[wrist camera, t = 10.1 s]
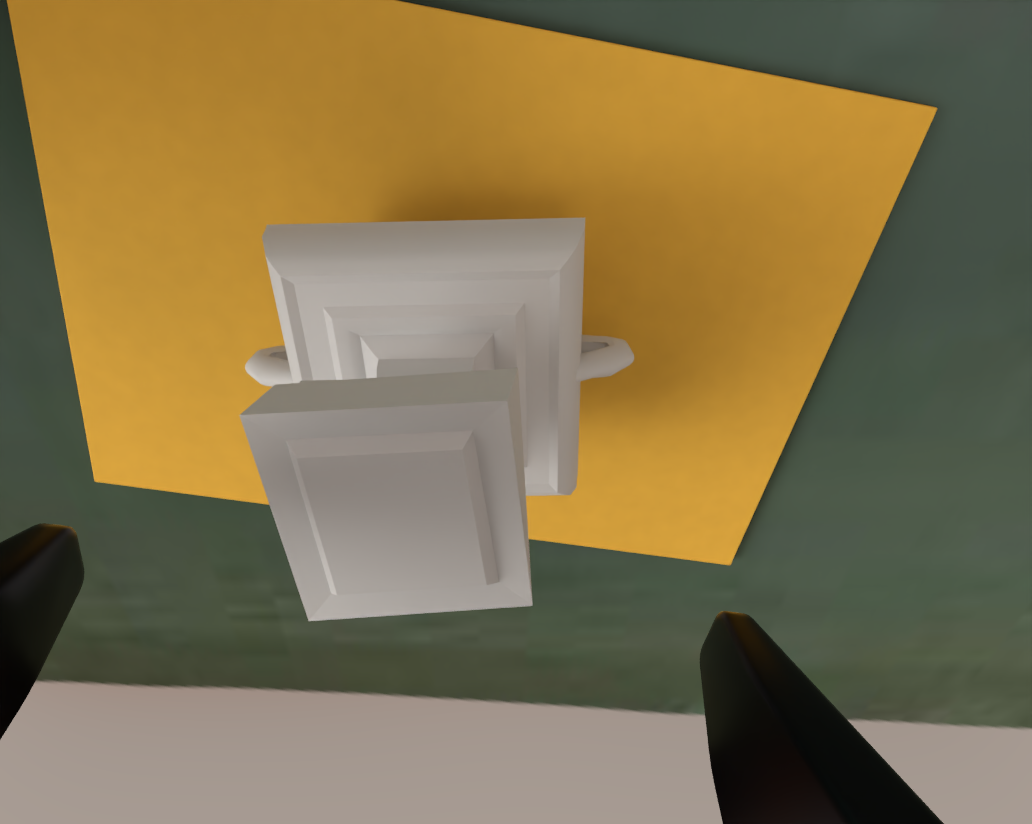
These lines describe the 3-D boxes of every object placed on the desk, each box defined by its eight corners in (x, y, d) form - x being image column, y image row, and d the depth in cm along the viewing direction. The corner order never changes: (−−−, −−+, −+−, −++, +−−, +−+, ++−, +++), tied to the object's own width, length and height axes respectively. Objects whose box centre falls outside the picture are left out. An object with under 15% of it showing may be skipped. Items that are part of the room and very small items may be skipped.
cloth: (99, 476, 21) (94, 482, 21) (1, -79, 14) (-9, -80, 14) (728, 559, 23) (730, 565, 22) (932, 106, 16) (938, 108, 15)
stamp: (301, 431, 20) (177, 682, 13) (246, 196, 16) (33, 358, 9) (615, 423, 20) (672, 673, 12) (627, 184, 16) (716, 337, 9)
